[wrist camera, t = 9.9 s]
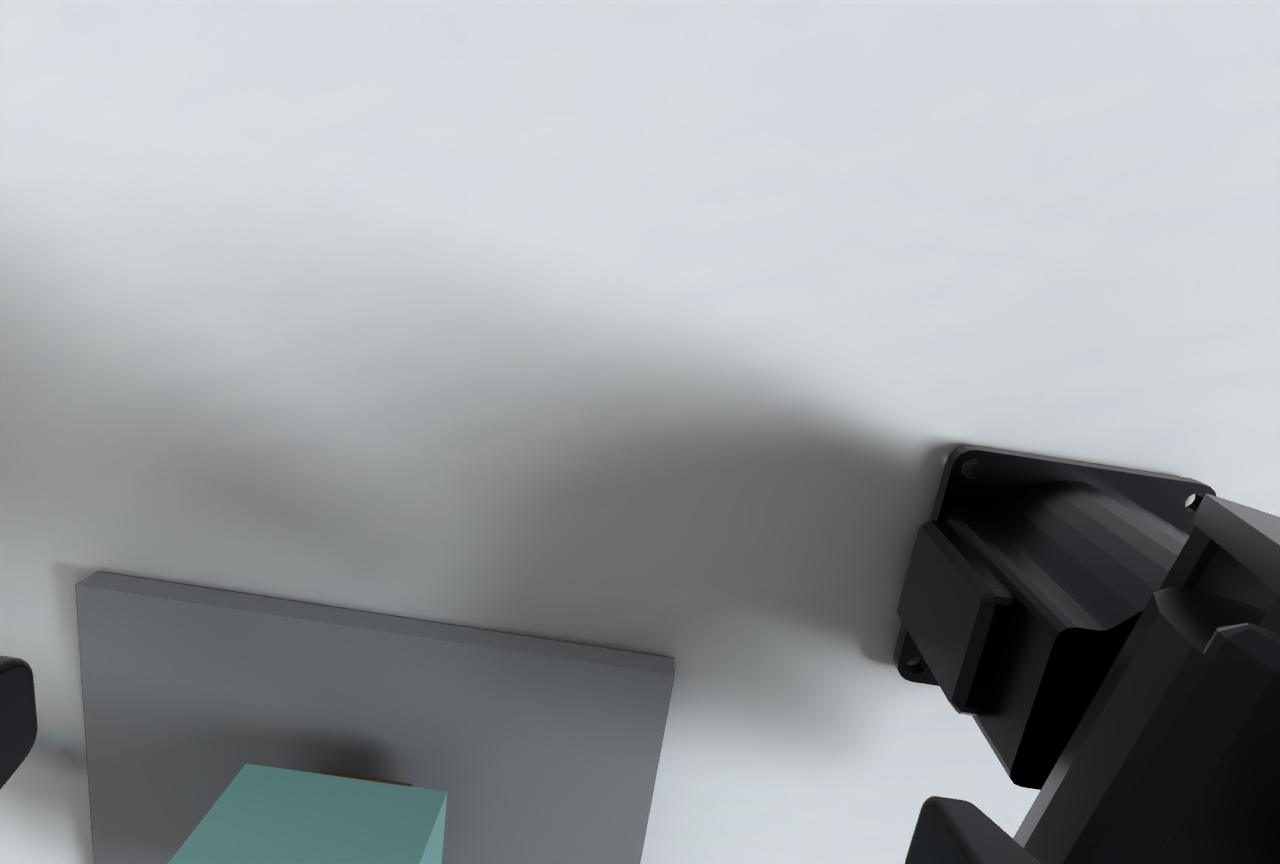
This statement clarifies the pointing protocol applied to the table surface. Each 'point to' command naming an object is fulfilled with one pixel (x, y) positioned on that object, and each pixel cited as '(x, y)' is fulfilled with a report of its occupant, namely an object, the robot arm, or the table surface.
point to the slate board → (361, 720)
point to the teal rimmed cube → (317, 822)
